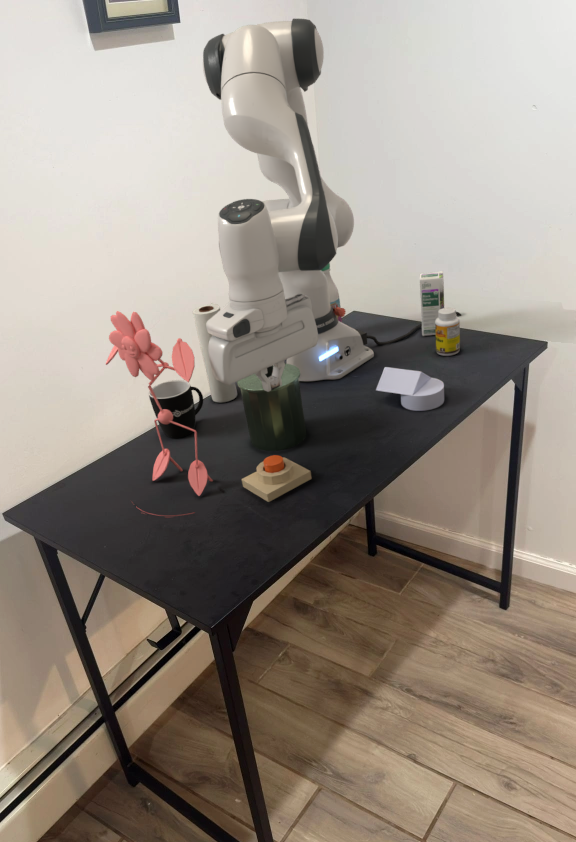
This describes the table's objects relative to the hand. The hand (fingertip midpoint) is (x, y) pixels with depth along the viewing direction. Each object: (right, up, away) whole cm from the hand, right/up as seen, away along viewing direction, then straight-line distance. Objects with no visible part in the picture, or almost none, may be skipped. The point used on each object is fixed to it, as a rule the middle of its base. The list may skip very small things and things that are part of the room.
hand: (272, 388), depth 124 cm
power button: (0, -13, +7) cm, 15 cm away
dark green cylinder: (+1, -6, +24) cm, 25 cm away
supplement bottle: (+41, +17, +48) cm, 65 cm away
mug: (-20, -3, +34) cm, 40 cm away
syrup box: (+40, +25, +60) cm, 76 cm away
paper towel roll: (-12, +6, +45) cm, 47 cm away
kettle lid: (-1, +5, +16) cm, 17 cm away
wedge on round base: (+29, +2, +30) cm, 42 cm away
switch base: (+1, -16, +9) cm, 19 cm away
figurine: (-20, -18, +12) cm, 29 cm away
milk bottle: (+13, +24, +66) cm, 71 cm away
